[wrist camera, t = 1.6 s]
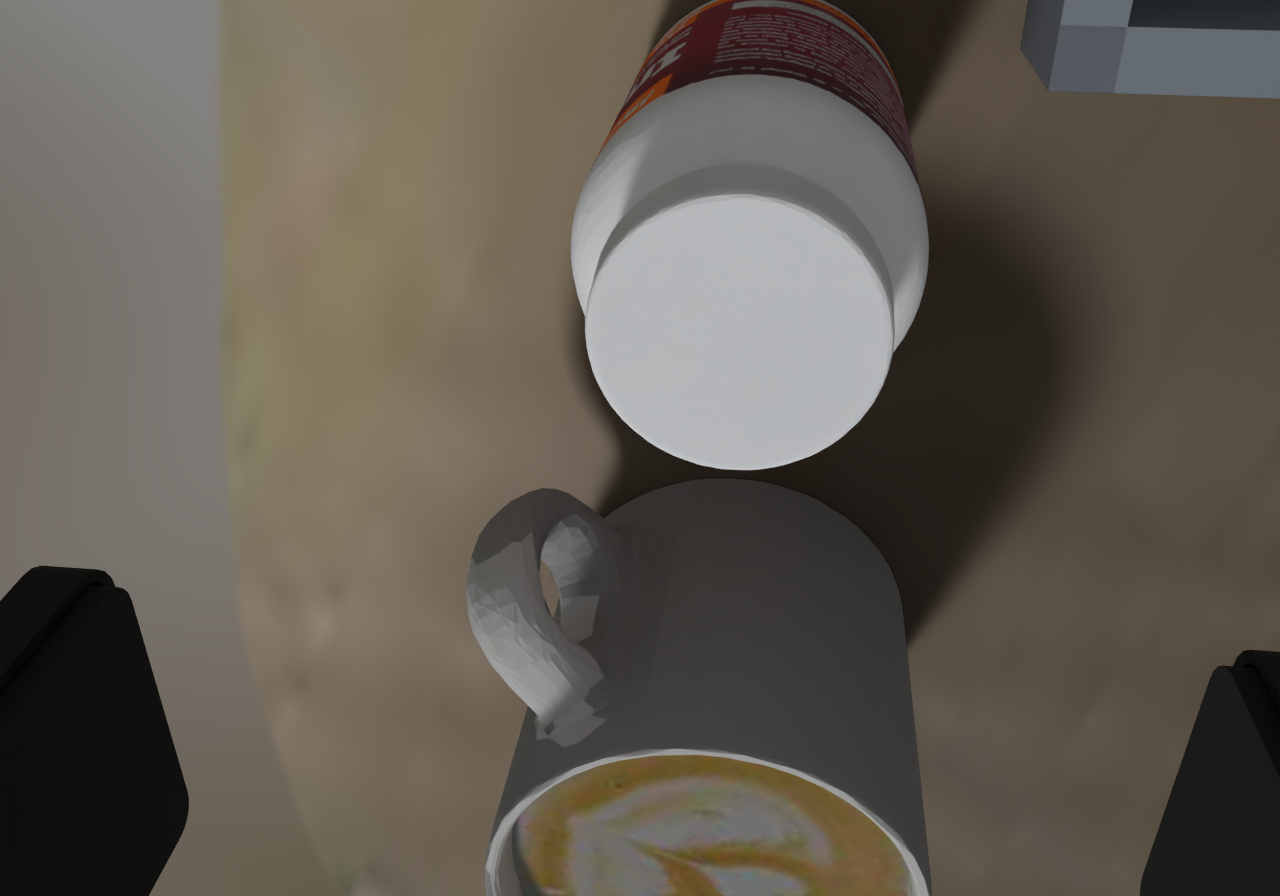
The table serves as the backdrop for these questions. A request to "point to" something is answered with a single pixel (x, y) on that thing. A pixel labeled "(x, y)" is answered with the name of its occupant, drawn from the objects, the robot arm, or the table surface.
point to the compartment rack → (1156, 46)
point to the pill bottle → (752, 235)
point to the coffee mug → (700, 698)
